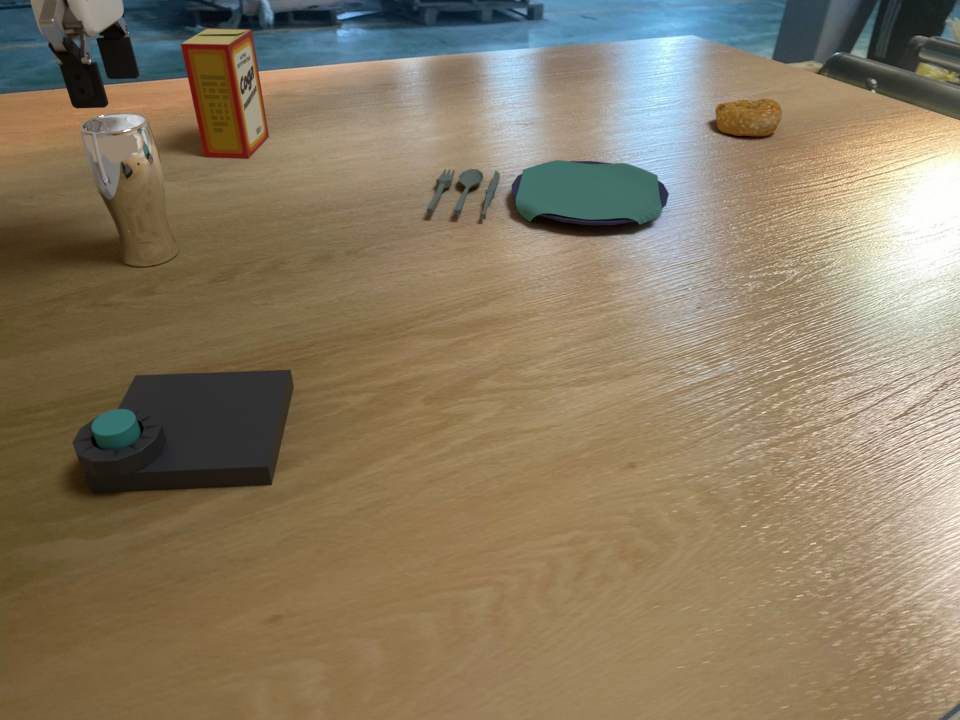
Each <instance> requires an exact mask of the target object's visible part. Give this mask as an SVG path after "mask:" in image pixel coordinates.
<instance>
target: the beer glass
mask: <svg viewBox="0 0 960 720" xmlns="http://www.w3.org/2000/svg"><path fill="white" fill-rule="evenodd" d="M78 129H79V131H80V135H81V140H82V141H81V142H82V144H83V150H84V154H85V158H86V162H87V166H88V168H89V172H90V174H91V177H92V180H93V183H94V185H95V187H96V189H97V192H98V194H99V196H100V197H101V199H102V201H103V203H104V205H105V207H106V209H107V211H108V212H109V214H110V217H111V219H112V220H113V222H114V225H115V228H116V232H117V235H118V239H119V250H120V257H121V260H122V262H123V263H124V264H126V265H128V266H131V267H137V268H145V267H153V266H157V265H162V264H165V263H167V262H169V261H171V260H173V259H174V258H175V257H176V256H177V255H178V253H179V245H178V243H177V241H176V239H175V236H174V235H173V233H172V230H171V228H170V225H169V220H168V216H167V207H166V190H165V189H166V188H165V179H164V170H163V165H162V161H161V156H160V153H159V149H158V145H157V143H156V140H155V137H154V134H153V131H152V128H151V125H150V122H149V118H148V116H146V114H145V115H144V114H142V113H137V112H113V113H105V114H100V115H98V116H93V117H91V118H88V119H85V120H84V121H82V122H81V123H80V124H79V126H78Z"/></svg>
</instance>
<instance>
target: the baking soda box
mask: <svg viewBox="0 0 960 720" xmlns="http://www.w3.org/2000/svg"><path fill="white" fill-rule="evenodd" d="M255 47H256V46H255V42H254V36H253V29H249V28H209V27H208V28H206V29H204V30H201V32H199V33H197V34H195V35H193V36H192V37H190V38H188V39H187V40H184V41H183V42H181V43H180V48H181V52H182V53H181V54H182V58H183V62H184V66H185V67H184V68H185V71H186V75H187V80H188V84H189V89H190V94H191V99H192V103H193V108H194V113H195V118H196V122H197V127H198V131H199V137H200V142H201V145H202V150H203V155H204V157H205V158H220V159H221V158H222V159H223V158H224V159H225V158H226V159H250V158H251V156H252V155H253V154H254V153H255V152H256V151H258V149H259V148H260V147H261V146H262V145H263V144H264V143H265V142H266V140H268V138H269V137H270V134H269V128H268V121H267V115H266V109H265V104H264V103H265V102H264V97H263V90H262V85H261V78H260V74H259V67H258V59H257V55H256V48H255Z"/></svg>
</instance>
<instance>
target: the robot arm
mask: <svg viewBox="0 0 960 720" xmlns="http://www.w3.org/2000/svg"><path fill="white" fill-rule="evenodd" d="M29 2H30V5H31V9H32V12H33V15H34V19H35V22H36V25H37V28H38V30H39V32H40V34H41V35H42V36H43V37H45V38H46V40H47V43H48V44H47V46H48V48H49V49H50V51H51V52H52V53H53V55H54V60H55V63H56V65H57V66H59V69H60V72H61V75H62V79H63V81H64V84H65V88H66V91H67V94H68V98H69V100H70V104H71V106H72V107H73V108H75V109H104V108H107V106H108V105H109V99H108V95H107V92H106V88H105V86H104V82H103V79H102V75H101V72H100V69H99V68H100V67H99V65H98V62H97V61H93V60H92V58H93V57H92V51H93V50H92V38H93V37H96V36H98V35H99V37H97V38H95V39H96V44H97V47H98V51H99V54H100V57H101V60H102V64H103V68H104V71H105V74H106V77H107V78H108V79H109V80H128V79H129V80H130V79H131V80H132V79H133V80H134V79H138V77H140V70H139V66H138V63H137V59H136V55H135V51H134V48H133V44H132V40H131V37H130V28H129V26H128V23H127V22H126V20H125V15H126V12H125V10H126V9H125V8H124V1H123V0H29ZM75 41H79V45H78V44H76V42H75Z"/></svg>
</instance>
